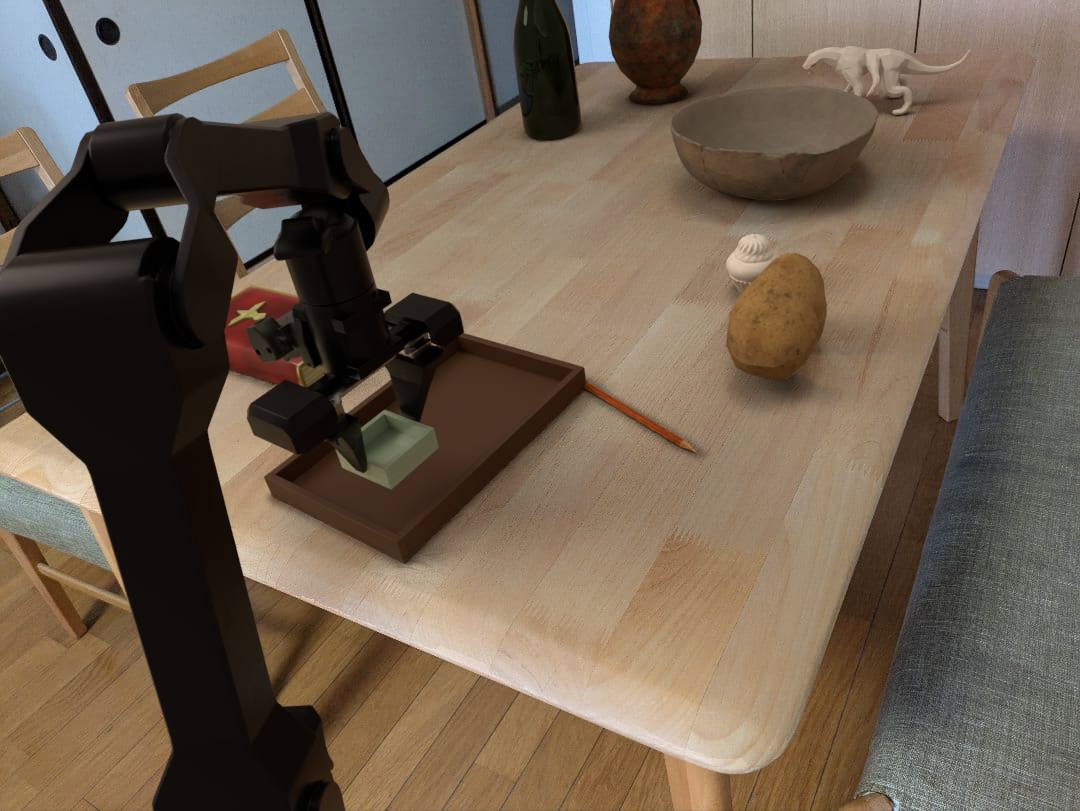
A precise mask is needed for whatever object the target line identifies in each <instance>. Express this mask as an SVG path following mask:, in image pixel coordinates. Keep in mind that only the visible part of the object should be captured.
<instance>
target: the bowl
mask: <svg viewBox="0 0 1080 811" xmlns="http://www.w3.org/2000/svg"><path fill="white" fill-rule="evenodd" d="M878 118H879V116H878V109H877V107H876V106H875V104H874V103H873V102H871V101H870V100H868V99H866V98H864V97H862V96H861V97H860V96H857V95H855V94H854V93H852V92H850V93H849V92H846V91H842V89H839V88H833V87H832V88H831V87H822V86H811V85H778V86H777V85H776V86H775V85H774V86H759V87H753V88H745V89H738V90H732V91H728V92H723V93H719V94H713V95H710V96H706V97H703V98H699V99H697V100H694V101H692V102H690V103H687V104H686V105H684V106H683V107H680V108H678V109H677V111H676V112H674V114H673V115H672V116H671V118H670V120H669V128H670V131H671V138H672V141H673V143H674V148H675V151H676V154H677V156H678V158H679V160H680V162H681V163H682V165H683V167H684V169H685V170H686V172H687V173H688V174H689V175H691V177H692V178H694V179H695V180H696V181H698V182H699V183H701V184H703V185H705V186H707V187H709V188H711V189H713V190H715V191H717V192H720V193H723V194H727V195H730V196H734V197H739V198H744V199H745V198H746V199H752V200H758V201H759V200H760V201H783V200H785V201H786V200H791V199H797V198H801V197H805V196H809V195H813V194H815V193H818V192H820V191H822V190H824V189H826V188H828V187H830V186H832V185H833V184H834V183H836V182H837V181H838V180H839V179H840V178H842V177H843V176H844V175H845V174H846V173H847V172H848V171H849V170H850V169H851V167H853V165H854V164H855V162H856V161H857V159H858V158H859V156H860V155H861V154H862V152H863V151H864V149H865V148H866V147H867V145H868V143H869V141H870V139H871V138H872V136H873V134H874V131H875V128H876V125H877V122H878Z"/></svg>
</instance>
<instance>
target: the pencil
mask: <svg viewBox="0 0 1080 811" xmlns="http://www.w3.org/2000/svg"><path fill="white" fill-rule="evenodd" d="M584 390H586V391H588V392H590V393H591V394H593V395H595V396H596V397H597V398H599V399H601V400H603V401H605V402H606V403H608V404H609V405H611V406H613V407H614V408H615V409H617V410H619V411H621V412H622V413H624V414H626V415H627V416H629V417H631V418H632V419H634V420H635V421H637V422H638V423H640V424H642V425H644V426H645V427H647V428H649V429H650V430H652V431H653V432H655V433H656V434H658V435H660V436H662V437H663V438H664V439H667V440H668V441H670V442H671V443H673V444H675V445H676V446H678V447H680V448H681V449H684V450H688V451H691V452H695V453H697V451H696V449H694V447H692V446H691V445H690V444H689V443H688V442H687V441H686V440H685V439H684V438H682V437H681V436H679V435H677V434H675V433H674V432H672V431H670V429H669V430H668V429H667V428H665V427H664V426H662V425H660V424H659V423H657V422H656V421H654V420H652V419H650V418H649V417H647V416H645V415H643V414H642V413H641V412H639V411H637V410H635V409H634V408H632V407H630V406H628V404H625V403H624V402H622V401H620V400H618V399H617V398H615V397H614V396H612V395H610V394H609V393H607V392H605V391H603V390H602V389H601V388H598V387H597V386H595V385H593V384H592V383H590V382H589V381H587V380H586V384H585V389H584Z"/></svg>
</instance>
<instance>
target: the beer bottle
mask: <svg viewBox="0 0 1080 811" xmlns="http://www.w3.org/2000/svg"><path fill="white" fill-rule="evenodd" d="M512 49H513V59H514V60H513V61H514V67H515V75H516V83H517V90H518V97H519V105H520V112H521V119H522V126H523V130H524V133H525V135H526V136H527V137H528V138H531V139H535V140H542V141H543V140H555V139H562V138H565V137H568V136H570V135H573V134H574V133H576V132H577V131H578V130H580V128H581V127H582V113H581V112H582V111H581V104H580V96H579V88H578V81H577V79H578V78H577V72H576V64H575V57H574V50H573V45H572V39H571V32H570V30H569V26H568V23H567V20H566V18H565V15H564V14H563V12H562V10H561V8H560V6H559V3H558V2H557V0H518V1H517V8H516V13H515V18H514V25H513V29H512Z"/></svg>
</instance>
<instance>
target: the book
mask: <svg viewBox="0 0 1080 811" xmlns="http://www.w3.org/2000/svg"><path fill="white" fill-rule="evenodd" d="M299 302H300V301H299V298H298V296H297V294H292V293H287V292H283V291H278V290H274V289H270V288H266V287H261V286H257V285H253V284H250V285H249V286H247V287H245V288H244V289H243V290H241V291H239V292H238V293H236V294H234V295H233V296H231V301H230V307H229V312H228V317H227V323H226V327H225V330H224V331H225V337H226V344H227V351H228V357H229V364H230V370H229V371H233V372H236V373H239V374H242V375H245V376H249V377H251V378H254V379H259V380H261V381H264V382H267V383H271V384H274V385H276V386H277V385H278V384H279V383H281V382H282V381H284V380H288V381H290V382H293V383H295V384H298V385H301V386H303V387H306V388H307V387H309V386H310V385H311V384H313V383H314V382H316V381H317V380H318V379H320V378H321V377H323V376H324V373H325V372H324V369H323V367H321V366H318V367H316V368H315V369H314V368H311V367H308V366H305V365H304V362H303V360H302V357H298V358H291V359H290V360H289V361H283V359H282V358H281V359H279V360H278V361H274V362H267V363H265V362H263V361H262V360H260V359H259V358H258V356H257V354H256V353H255V351H254V349H253V348H252V346H251V343H250V340H249V337H248V334H247V331H246V328H248V327H249V326H251V325H253V324H254V323H256V322H257V321H259V320H261V319H267V318H269V317H273V318H274V319H275V320H277V319H278V318H280V317H282V316H283V315H285V314H286V313H288V312H290V311H291V310H292V306H294V305H295V304H297V303H299Z"/></svg>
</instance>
